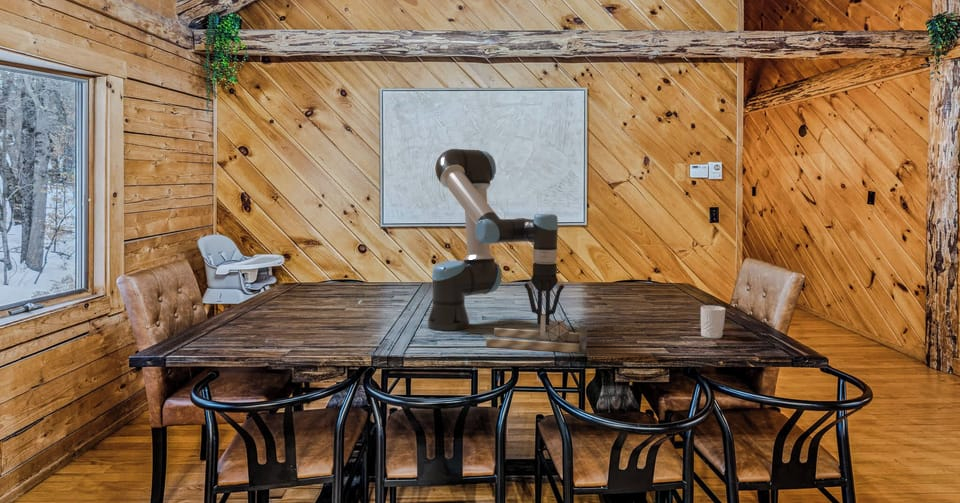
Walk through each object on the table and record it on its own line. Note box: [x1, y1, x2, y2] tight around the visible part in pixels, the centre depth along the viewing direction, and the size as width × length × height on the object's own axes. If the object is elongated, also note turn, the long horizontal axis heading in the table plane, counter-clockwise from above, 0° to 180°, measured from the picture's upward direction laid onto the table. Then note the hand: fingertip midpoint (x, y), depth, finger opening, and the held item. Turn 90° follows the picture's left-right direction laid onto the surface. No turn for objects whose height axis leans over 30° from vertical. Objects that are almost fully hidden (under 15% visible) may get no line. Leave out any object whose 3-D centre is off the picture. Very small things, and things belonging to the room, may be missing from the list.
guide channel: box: [485, 325, 588, 354], centre depth 182 cm, size 31×15×5 cm, turn 78°
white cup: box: [700, 304, 726, 339], centre depth 193 cm, size 8×8×10 cm
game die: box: [546, 318, 573, 343], centre depth 182 cm, size 9×8×10 cm
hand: (543, 334), depth 181 cm, fingers closed
